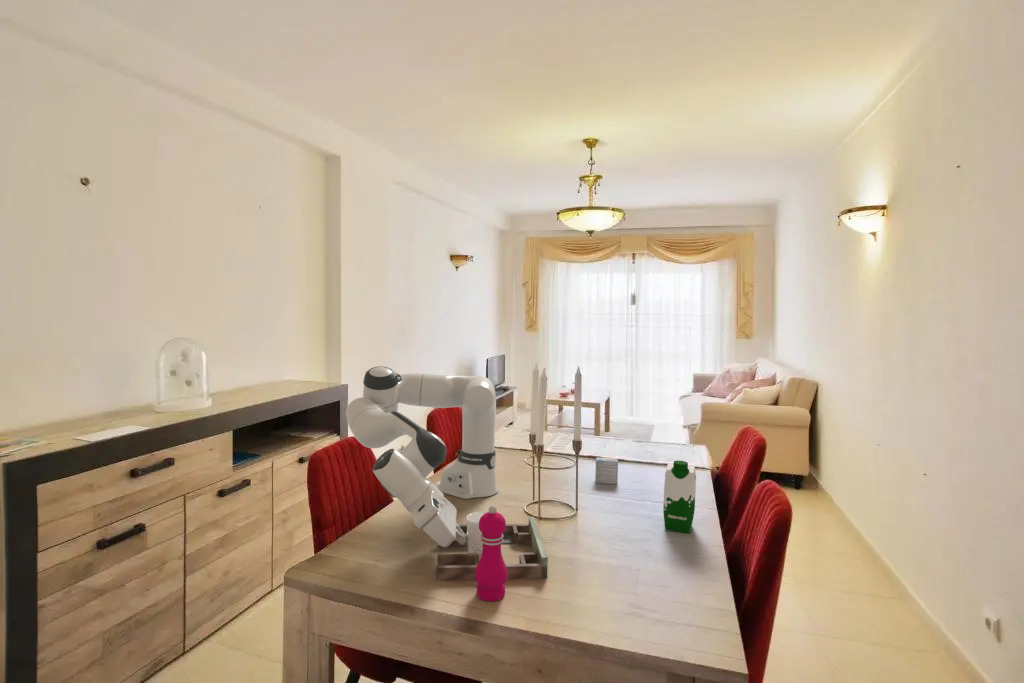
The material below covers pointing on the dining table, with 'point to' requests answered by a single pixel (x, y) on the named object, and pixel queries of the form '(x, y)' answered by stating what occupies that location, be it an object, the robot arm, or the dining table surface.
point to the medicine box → (606, 470)
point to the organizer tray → (527, 567)
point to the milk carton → (679, 496)
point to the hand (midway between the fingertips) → (464, 540)
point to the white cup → (474, 534)
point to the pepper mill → (491, 557)
